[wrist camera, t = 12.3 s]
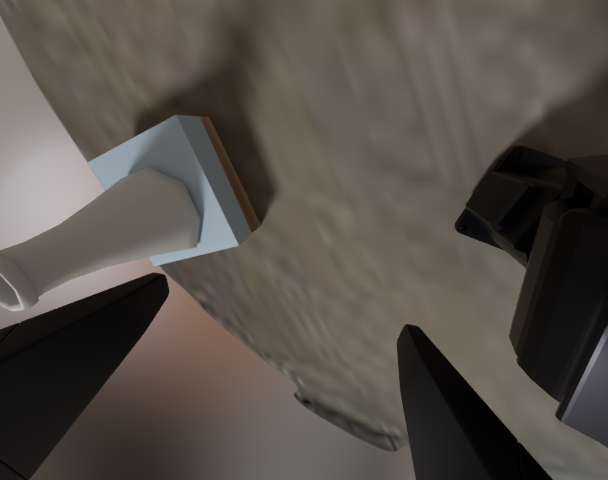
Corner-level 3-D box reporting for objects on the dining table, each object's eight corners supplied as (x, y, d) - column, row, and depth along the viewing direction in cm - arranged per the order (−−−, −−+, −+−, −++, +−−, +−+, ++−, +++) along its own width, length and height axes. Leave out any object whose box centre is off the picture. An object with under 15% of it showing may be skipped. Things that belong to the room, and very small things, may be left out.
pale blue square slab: (199, 116, 18) (176, 114, 15) (252, 233, 21) (238, 245, 19) (116, 159, 21) (87, 162, 19) (172, 253, 24) (153, 266, 22)
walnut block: (215, 117, 20) (196, 116, 18) (264, 221, 23) (253, 231, 21) (140, 160, 23) (117, 164, 21) (192, 245, 27) (176, 256, 24)
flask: (113, 164, 18) (-121, 199, 9) (193, 170, 17) (1, 218, 8) (141, 245, 21) (-15, 326, 13) (209, 256, 20) (86, 357, 11)
